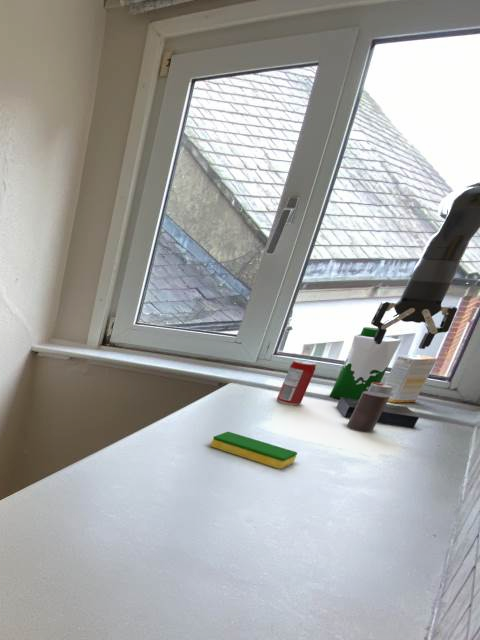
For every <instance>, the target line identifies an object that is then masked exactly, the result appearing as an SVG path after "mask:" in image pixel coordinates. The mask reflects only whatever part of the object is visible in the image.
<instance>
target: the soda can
mask: <svg viewBox="0 0 480 640" xmlns="http://www.w3.org/2000/svg"><path fill="white" fill-rule="evenodd" d="M316 366H317V363H316V362H315V361H311V360H306V359H294V360H293V362H291V364H290V365H289V368H288V370H287V373H286V376H285V377H284V380H283V383H282V385H281V388H280V390H279V393H278V395H277V397H276V399H277V401H278V402H279V403H281V404H285V405H289V406H290V405H291V406H297V405H300V404H302V401H303V399H304V397H305V394H306V392H307V390H308V388H309V385H310V382H311V380H312V378H313V375H314V374H315V371H316Z"/></svg>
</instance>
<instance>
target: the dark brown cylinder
mask: <svg viewBox="0 0 480 640" xmlns="http://www.w3.org/2000/svg"><path fill="white" fill-rule="evenodd" d="M389 397H390V396H389V395H386V394H383V393H378V392H372V391H364V392H363V393H362V395H361V397H360V399H359V401H358V403H357V405H356V408H355V410H354V412H353V414H352V416H351V418H349V421H347V424H346V428H349V429H350V430H351V429H352V430H354V431H358V432H365V433H372V432H373V431H374V430H375V427H376V425H377V421H378V419H379V417H380V415H381V413H382V411H383V409H384V407H385V405H386V404H388V402H389V401H388V399H389Z"/></svg>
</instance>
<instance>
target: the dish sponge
mask: <svg viewBox="0 0 480 640" xmlns="http://www.w3.org/2000/svg"><path fill="white" fill-rule="evenodd" d="M210 447H211V448H214V449H217V450H221V451H223V452H226V453H230V454H233V455H236V456H239V457H242V458H245V459H248V460H251V461H255V462H257V463H260V464H264V465H267V466H270V467H271V468H276V469H280V470H281V469H283V468H285V467H287V466H289V465H291V464H293V463H294V462H295V460H296V459H297V455H298V452H297V451H294V450H291V449H287V448H284V447H281V446H278V445H274V444H271V443H268V442H264V441H261V440H258V439H255V438H251V437H249V436H245V435H241V434H238V433H235V432H232V431H226V432H223V433H220V434H217V435H215V436H213V438H212V440H211V443H210Z"/></svg>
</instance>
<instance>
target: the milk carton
mask: <svg viewBox="0 0 480 640" xmlns="http://www.w3.org/2000/svg"><path fill="white" fill-rule="evenodd" d="M377 330H378V327H365V326H363V328H362V330H361V332H360V334H356V335H354V336H353V340H352V343H351V347H350V349H349V352H348V354H347V356H346V358H345V360H344V363H343V365H342V366H341V369H340V371H339V374H338V375H337V378H336V381H335V383H334V385H333V387H332V389H331V392H330V394H329V397H332V398H337V399H339V400H340V399H341V397H343V398H350V399H356V400H359V399H360V397H361V395H362V393H363V392H364V391H368V389H369V387H370V385H371V383H372V382H374V383H382V380H383V378H384V376H385V374H386V371H387V369H388V367H389V366H390V363H391V361H392V359H393V357H394V355H395V353H396V351H397V349H398V347H399V346H400V344H401V343H402V339H398V338H393V337H390V336H384V338H383V340H382V342H381V344H376V343H375V342H376V341H374V337H375V335H376V332H377Z"/></svg>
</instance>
